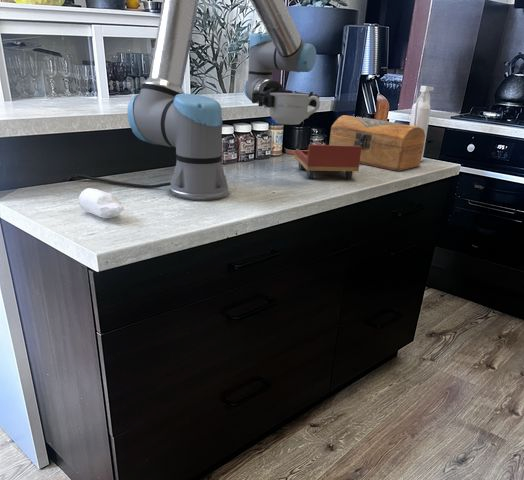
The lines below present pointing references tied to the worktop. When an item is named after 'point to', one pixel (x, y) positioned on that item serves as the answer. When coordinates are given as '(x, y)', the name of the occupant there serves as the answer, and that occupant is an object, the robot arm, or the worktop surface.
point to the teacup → (292, 108)
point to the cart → (329, 159)
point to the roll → (100, 203)
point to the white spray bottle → (422, 111)
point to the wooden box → (380, 141)
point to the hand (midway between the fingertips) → (295, 101)
